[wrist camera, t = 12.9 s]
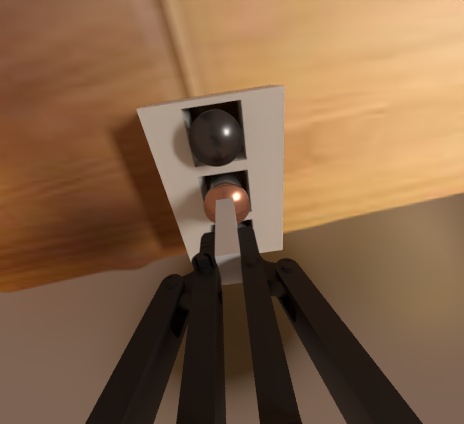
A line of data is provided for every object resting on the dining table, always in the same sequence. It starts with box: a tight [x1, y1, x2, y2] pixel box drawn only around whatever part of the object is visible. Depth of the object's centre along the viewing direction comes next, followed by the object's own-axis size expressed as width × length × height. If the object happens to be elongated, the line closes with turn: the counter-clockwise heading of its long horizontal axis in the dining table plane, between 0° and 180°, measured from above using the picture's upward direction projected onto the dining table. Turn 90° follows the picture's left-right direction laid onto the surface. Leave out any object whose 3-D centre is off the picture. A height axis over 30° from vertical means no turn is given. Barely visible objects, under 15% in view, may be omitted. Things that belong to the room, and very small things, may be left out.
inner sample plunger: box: [188, 108, 243, 167], centre depth 18 cm, size 4×4×6 cm
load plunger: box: [204, 171, 250, 224], centre depth 21 cm, size 4×4×6 cm
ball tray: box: [136, 85, 284, 261], centre depth 23 cm, size 18×12×5 cm, turn 8°
